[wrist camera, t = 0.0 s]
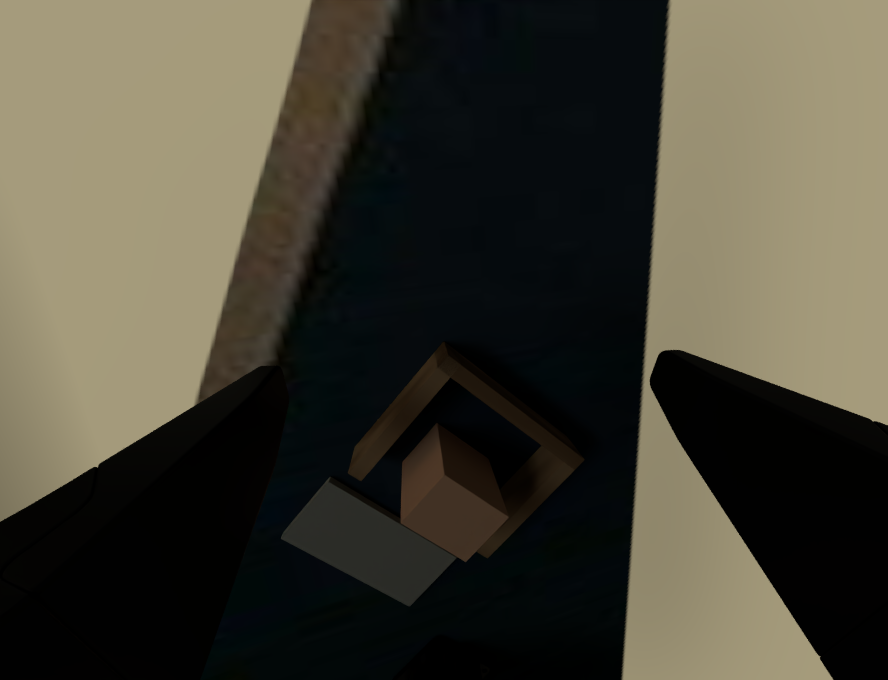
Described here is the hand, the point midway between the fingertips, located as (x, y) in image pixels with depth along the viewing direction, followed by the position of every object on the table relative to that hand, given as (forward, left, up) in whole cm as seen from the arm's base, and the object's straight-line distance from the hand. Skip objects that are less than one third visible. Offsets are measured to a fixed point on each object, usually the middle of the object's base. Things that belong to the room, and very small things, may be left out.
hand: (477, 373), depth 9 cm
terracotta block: (-9, -9, -16) cm, 20 cm away
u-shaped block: (-7, -9, -15) cm, 19 cm away
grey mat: (-18, -9, -15) cm, 26 cm away
